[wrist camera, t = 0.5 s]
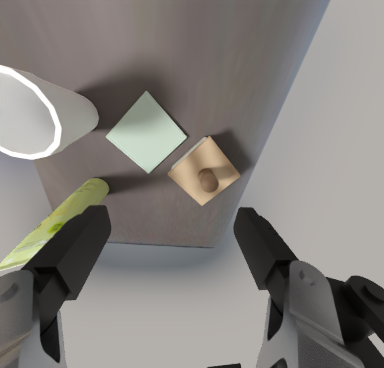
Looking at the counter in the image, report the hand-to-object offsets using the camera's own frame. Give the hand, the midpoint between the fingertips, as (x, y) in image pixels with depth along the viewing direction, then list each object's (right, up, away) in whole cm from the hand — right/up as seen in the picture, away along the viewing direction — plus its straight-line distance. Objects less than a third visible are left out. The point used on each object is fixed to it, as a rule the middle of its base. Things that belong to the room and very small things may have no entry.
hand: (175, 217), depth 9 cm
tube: (-21, +1, +25) cm, 33 cm away
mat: (-8, +12, +21) cm, 26 cm away
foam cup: (-20, +15, +18) cm, 31 cm away
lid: (+4, +4, +22) cm, 23 cm away
